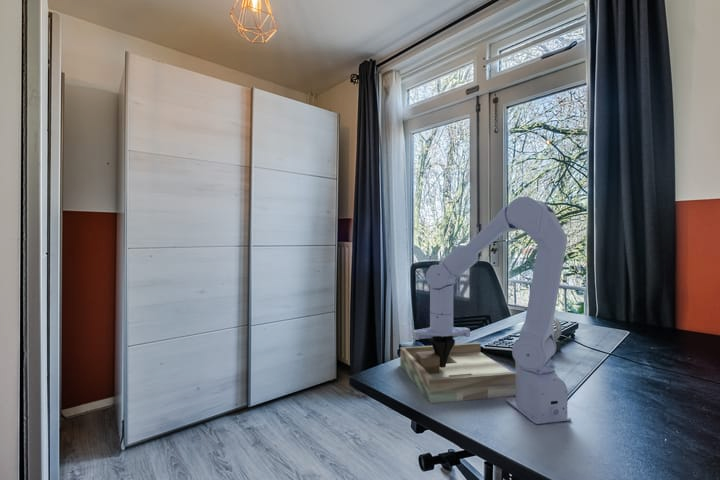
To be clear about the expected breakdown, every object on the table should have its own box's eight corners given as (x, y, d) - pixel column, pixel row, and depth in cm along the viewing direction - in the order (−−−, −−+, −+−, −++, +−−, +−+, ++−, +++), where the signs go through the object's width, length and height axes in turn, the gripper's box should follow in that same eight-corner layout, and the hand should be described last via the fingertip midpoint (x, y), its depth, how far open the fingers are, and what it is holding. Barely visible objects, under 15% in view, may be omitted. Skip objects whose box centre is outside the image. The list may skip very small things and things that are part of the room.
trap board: (529, 394, 76) (529, 372, 76) (430, 403, 72) (430, 380, 71) (478, 359, 97) (478, 342, 97) (400, 365, 93) (400, 347, 93)
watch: (543, 344, 111) (543, 312, 111) (565, 352, 103) (566, 317, 103) (530, 347, 109) (530, 313, 109) (553, 355, 101) (553, 319, 101)
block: (439, 373, 81) (439, 357, 81) (422, 374, 81) (422, 358, 80) (432, 366, 86) (432, 351, 86) (415, 367, 85) (415, 352, 85)
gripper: (460, 307, 89) (460, 358, 89) (409, 310, 86) (408, 362, 86) (474, 313, 82) (474, 368, 82) (418, 316, 79) (418, 372, 79)
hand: (441, 366), depth 84 cm, fingers closed
